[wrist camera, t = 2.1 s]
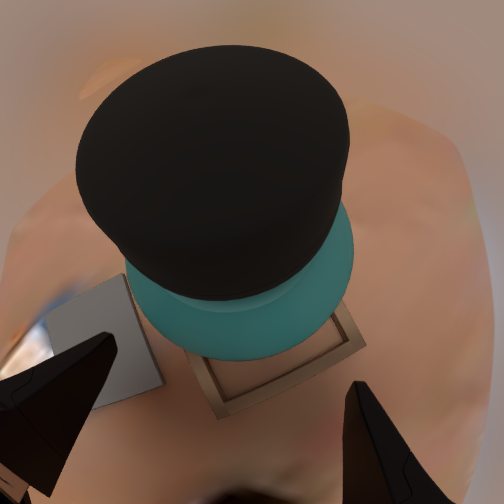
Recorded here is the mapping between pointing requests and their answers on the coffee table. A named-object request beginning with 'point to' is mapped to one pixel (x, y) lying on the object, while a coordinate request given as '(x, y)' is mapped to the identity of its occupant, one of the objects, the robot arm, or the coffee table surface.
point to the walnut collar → (284, 382)
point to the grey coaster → (113, 321)
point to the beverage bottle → (224, 197)
